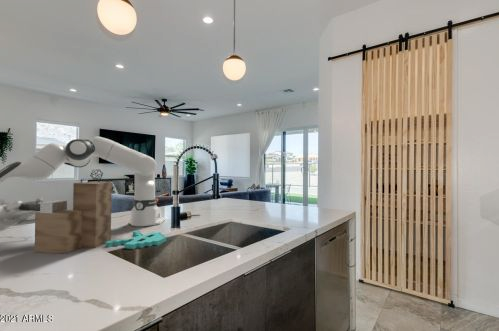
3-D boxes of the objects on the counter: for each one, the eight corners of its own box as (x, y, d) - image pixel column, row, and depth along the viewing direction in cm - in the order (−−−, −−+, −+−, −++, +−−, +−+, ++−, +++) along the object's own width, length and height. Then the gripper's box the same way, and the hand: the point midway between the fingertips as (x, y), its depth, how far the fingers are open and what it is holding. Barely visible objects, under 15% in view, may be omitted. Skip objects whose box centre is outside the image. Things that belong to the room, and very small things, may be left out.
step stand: (71, 239, 117) (71, 181, 117) (110, 240, 116) (111, 182, 116) (34, 252, 99) (35, 184, 100) (80, 254, 98) (81, 185, 98)
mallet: (30, 209, 107) (30, 199, 107) (66, 210, 106) (67, 200, 106) (13, 212, 100) (13, 201, 100) (52, 213, 99) (52, 202, 99)
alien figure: (105, 247, 107) (148, 251, 103) (105, 242, 107) (149, 245, 103) (135, 235, 127) (173, 238, 123) (135, 230, 127) (173, 233, 123)
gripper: (-30, 215, 94) (0, 196, 93) (24, 206, 115) (49, 191, 114) (-23, 230, 94) (8, 212, 93) (30, 219, 114) (55, 204, 113)
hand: (31, 200), depth 104 cm, fingers open, 8 cm apart
